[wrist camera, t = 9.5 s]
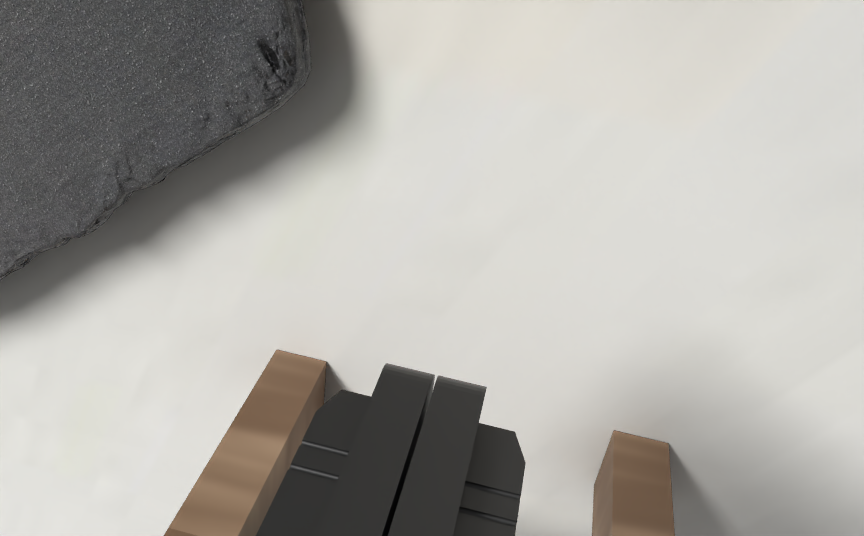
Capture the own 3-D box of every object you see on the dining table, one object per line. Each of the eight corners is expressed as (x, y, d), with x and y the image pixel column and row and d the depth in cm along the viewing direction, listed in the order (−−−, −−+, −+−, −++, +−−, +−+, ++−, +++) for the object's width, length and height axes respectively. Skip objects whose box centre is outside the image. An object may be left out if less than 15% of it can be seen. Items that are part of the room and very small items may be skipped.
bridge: (276, 349, 30) (147, 562, 22) (668, 443, 28) (686, 710, 20) (275, 406, 31) (155, 623, 23) (645, 497, 30) (653, 764, 22)
